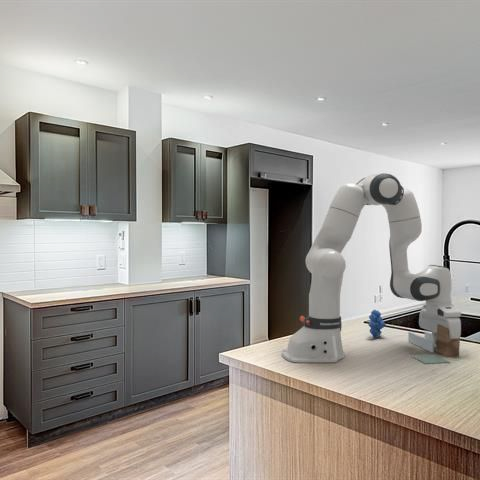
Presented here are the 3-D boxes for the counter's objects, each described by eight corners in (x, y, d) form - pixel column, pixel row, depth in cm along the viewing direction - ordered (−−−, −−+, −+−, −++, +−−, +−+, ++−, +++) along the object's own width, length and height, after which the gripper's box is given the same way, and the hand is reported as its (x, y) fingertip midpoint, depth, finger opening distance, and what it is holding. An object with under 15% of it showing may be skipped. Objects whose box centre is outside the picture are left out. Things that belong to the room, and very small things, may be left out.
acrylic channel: (432, 352, 160) (432, 341, 160) (408, 341, 176) (408, 331, 176) (451, 351, 161) (451, 340, 161) (425, 340, 177) (425, 330, 177)
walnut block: (446, 356, 154) (447, 329, 153) (435, 350, 160) (437, 324, 159) (458, 355, 155) (460, 328, 154) (448, 350, 161) (449, 323, 160)
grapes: (381, 342, 176) (381, 312, 175) (364, 339, 180) (364, 310, 179) (390, 336, 185) (390, 308, 185) (374, 334, 189) (374, 306, 189)
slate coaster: (425, 364, 146) (425, 363, 146) (410, 356, 155) (410, 355, 155) (449, 362, 147) (449, 361, 147) (433, 355, 156) (433, 354, 156)
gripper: (414, 304, 172) (414, 338, 172) (448, 313, 152) (448, 352, 152) (429, 303, 173) (429, 337, 174) (464, 312, 153) (464, 351, 153)
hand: (438, 345), depth 163 cm, fingers closed
